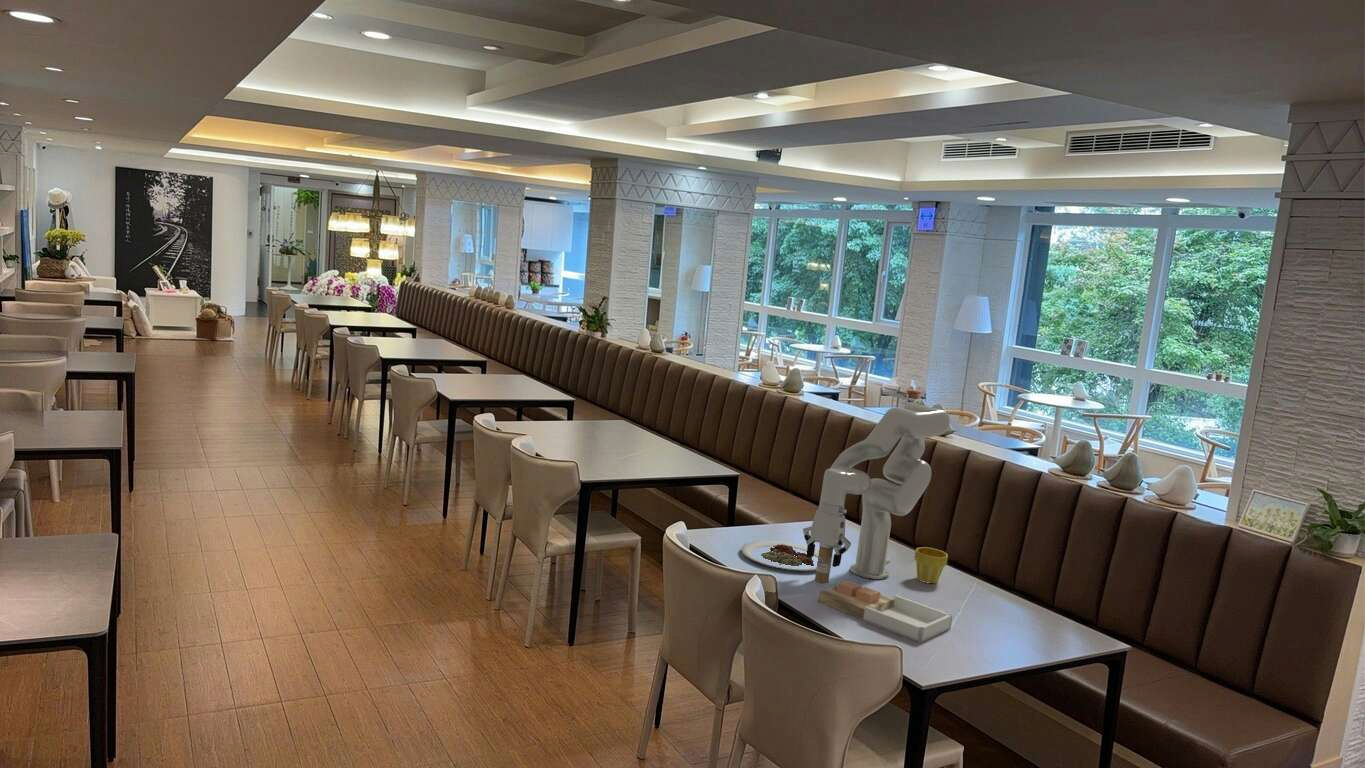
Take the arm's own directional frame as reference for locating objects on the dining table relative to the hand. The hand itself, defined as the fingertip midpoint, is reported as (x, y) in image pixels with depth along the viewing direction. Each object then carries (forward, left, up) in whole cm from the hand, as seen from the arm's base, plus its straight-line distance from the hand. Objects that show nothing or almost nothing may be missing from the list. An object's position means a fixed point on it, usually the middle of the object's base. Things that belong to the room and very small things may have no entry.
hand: (822, 561), depth 296 cm
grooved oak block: (+8, +18, -7) cm, 21 cm away
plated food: (-9, -20, -7) cm, 23 cm away
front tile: (+8, +22, -4) cm, 23 cm away
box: (+8, +35, -7) cm, 37 cm away
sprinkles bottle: (-1, 0, -7) cm, 7 cm away
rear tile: (+8, +15, -4) cm, 18 cm away
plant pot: (-35, +19, -7) cm, 40 cm away
